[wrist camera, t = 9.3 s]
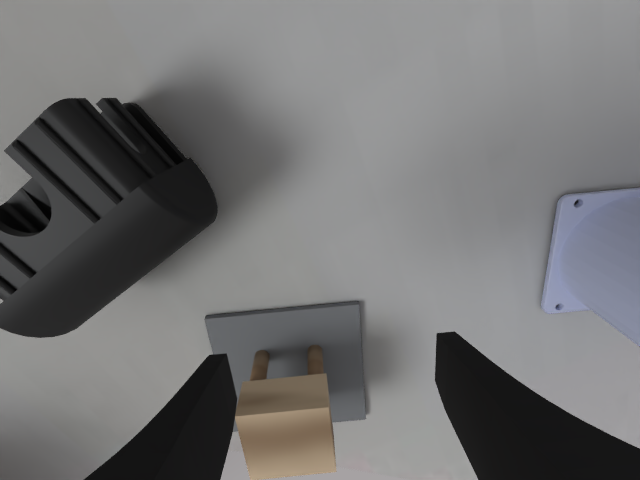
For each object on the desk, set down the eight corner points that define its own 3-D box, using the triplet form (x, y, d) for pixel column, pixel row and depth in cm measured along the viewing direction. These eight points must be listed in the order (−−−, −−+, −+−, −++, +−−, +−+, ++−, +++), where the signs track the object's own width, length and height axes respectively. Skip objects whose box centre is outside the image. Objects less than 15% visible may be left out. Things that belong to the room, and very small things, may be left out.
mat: (358, 301, 23) (359, 304, 23) (365, 414, 27) (365, 419, 27) (206, 315, 23) (204, 319, 23) (233, 427, 27) (232, 431, 27)
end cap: (114, 291, 23) (40, 365, 16) (17, 205, 21) (-111, 253, 14) (232, 198, 21) (200, 242, 14) (139, 91, 19) (54, 89, 12)
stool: (330, 398, 26) (336, 471, 21) (261, 404, 26) (250, 480, 21) (324, 341, 24) (328, 407, 19) (250, 348, 24) (234, 416, 19)
